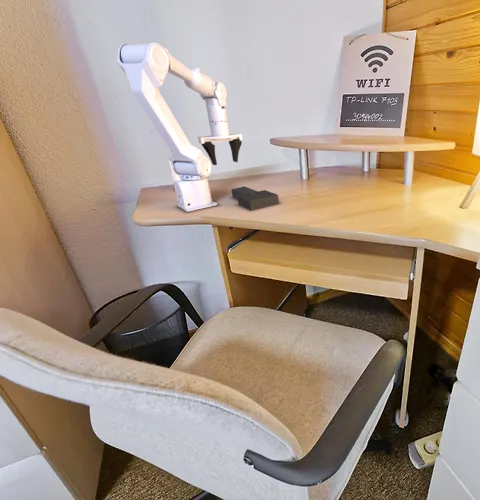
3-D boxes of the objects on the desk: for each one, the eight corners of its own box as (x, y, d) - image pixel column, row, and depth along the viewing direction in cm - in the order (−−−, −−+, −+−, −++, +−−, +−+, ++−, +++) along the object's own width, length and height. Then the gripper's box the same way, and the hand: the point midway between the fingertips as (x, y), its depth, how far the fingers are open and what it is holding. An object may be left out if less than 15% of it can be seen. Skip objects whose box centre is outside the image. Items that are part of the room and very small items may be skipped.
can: (198, 187, 122) (191, 154, 117) (188, 191, 116) (181, 158, 111) (182, 186, 123) (174, 154, 117) (172, 191, 117) (163, 157, 112)
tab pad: (248, 204, 102) (247, 195, 101) (232, 197, 110) (231, 189, 108) (262, 201, 106) (261, 192, 104) (245, 194, 113) (244, 186, 112)
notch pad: (251, 210, 97) (249, 201, 96) (238, 204, 102) (237, 195, 101) (278, 203, 104) (278, 194, 102) (265, 198, 109) (264, 189, 107)
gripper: (233, 119, 112) (239, 159, 118) (191, 121, 103) (199, 164, 109) (243, 120, 108) (248, 161, 114) (200, 123, 99) (208, 167, 105)
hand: (225, 163), depth 111 cm, fingers open, 7 cm apart
